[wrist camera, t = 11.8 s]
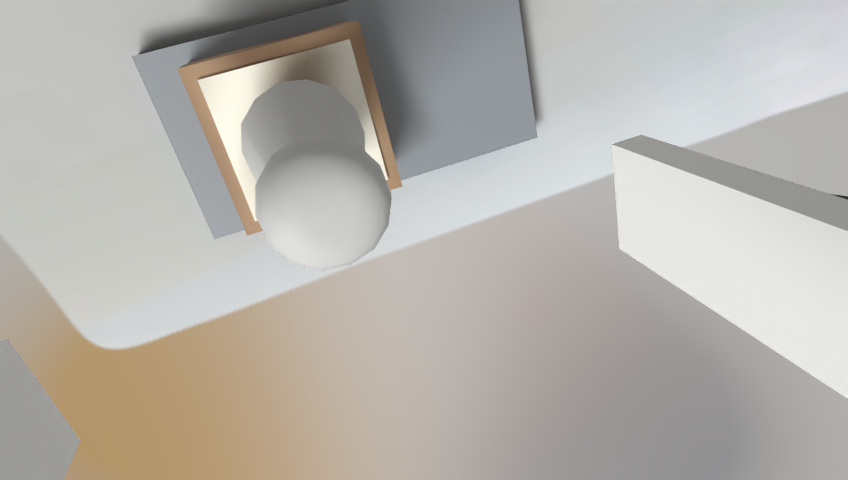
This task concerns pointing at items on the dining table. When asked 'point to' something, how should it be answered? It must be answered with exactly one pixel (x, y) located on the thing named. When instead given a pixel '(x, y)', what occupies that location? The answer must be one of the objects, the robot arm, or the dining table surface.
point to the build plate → (378, 85)
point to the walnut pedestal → (263, 68)
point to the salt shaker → (314, 175)
